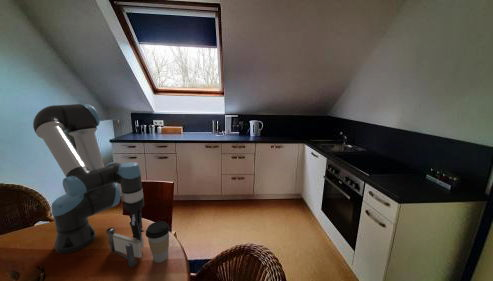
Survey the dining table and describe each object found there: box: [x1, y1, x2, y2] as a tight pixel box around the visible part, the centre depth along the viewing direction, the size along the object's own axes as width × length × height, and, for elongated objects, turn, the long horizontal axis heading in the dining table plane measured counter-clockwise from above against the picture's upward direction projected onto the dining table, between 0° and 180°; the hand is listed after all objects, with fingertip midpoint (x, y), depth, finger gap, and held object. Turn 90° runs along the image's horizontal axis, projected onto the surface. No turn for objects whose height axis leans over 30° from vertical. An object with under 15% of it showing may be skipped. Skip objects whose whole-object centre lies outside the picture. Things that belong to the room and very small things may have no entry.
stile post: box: [126, 243, 136, 268], centre depth 88 cm, size 2×2×10 cm
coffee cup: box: [145, 220, 171, 264], centre depth 91 cm, size 9×9×15 cm
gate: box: [112, 232, 143, 259], centre depth 93 cm, size 14×1×8 cm, turn 71°
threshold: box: [114, 251, 138, 265], centre depth 93 cm, size 14×1×1 cm, turn 62°
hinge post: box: [106, 226, 116, 253], centre depth 96 cm, size 3×3×11 cm
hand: (140, 247), depth 96 cm, fingers closed
